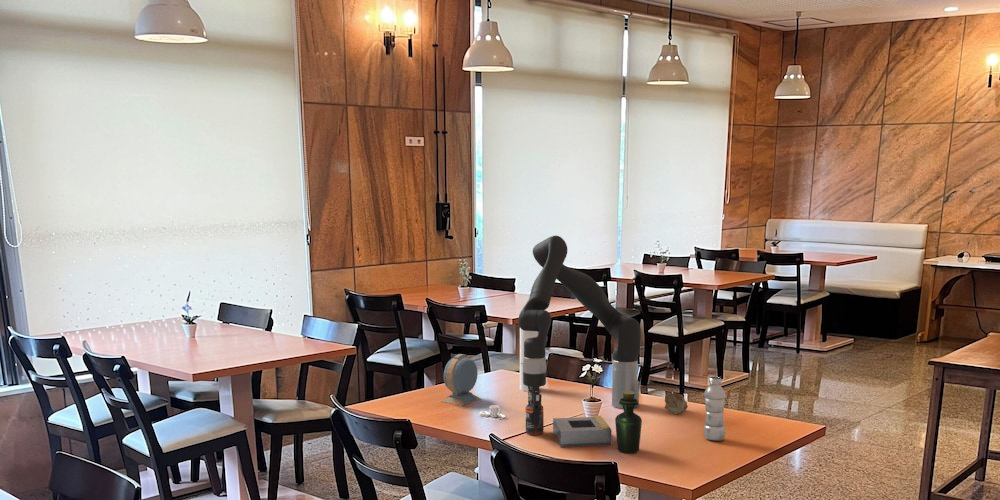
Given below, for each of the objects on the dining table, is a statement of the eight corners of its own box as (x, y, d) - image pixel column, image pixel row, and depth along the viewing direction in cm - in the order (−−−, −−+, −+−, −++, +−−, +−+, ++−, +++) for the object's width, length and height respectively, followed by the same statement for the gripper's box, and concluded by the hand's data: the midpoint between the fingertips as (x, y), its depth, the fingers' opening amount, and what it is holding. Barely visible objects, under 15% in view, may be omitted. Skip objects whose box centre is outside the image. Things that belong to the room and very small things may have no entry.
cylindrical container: (537, 391, 306) (537, 329, 304) (519, 391, 306) (519, 329, 304) (537, 386, 313) (537, 326, 311) (519, 386, 313) (519, 326, 311)
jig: (600, 431, 253) (601, 415, 253) (611, 445, 239) (611, 427, 239) (553, 433, 252) (553, 416, 251) (560, 447, 238) (560, 429, 237)
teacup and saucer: (476, 417, 271) (476, 406, 271) (491, 412, 277) (491, 401, 277) (494, 422, 265) (494, 410, 265) (509, 417, 271) (509, 406, 271)
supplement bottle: (545, 431, 254) (545, 397, 253) (540, 436, 248) (540, 402, 248) (528, 429, 256) (528, 396, 255) (523, 434, 250) (523, 400, 249)
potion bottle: (624, 456, 230) (624, 397, 228) (609, 448, 237) (610, 390, 236) (647, 452, 233) (647, 394, 232) (632, 444, 240) (632, 388, 239)
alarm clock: (462, 394, 301) (462, 349, 300) (482, 398, 296) (482, 352, 294) (438, 402, 290) (438, 356, 288) (459, 406, 284) (458, 359, 283)
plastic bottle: (721, 444, 240) (723, 381, 239) (700, 440, 244) (701, 378, 243) (727, 438, 246) (728, 377, 244) (706, 435, 249) (707, 374, 248)
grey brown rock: (660, 415, 275) (681, 417, 270) (658, 395, 275) (679, 397, 270) (671, 408, 282) (691, 409, 278) (669, 389, 282) (690, 390, 277)
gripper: (549, 375, 244) (549, 427, 245) (542, 365, 258) (542, 414, 259) (526, 375, 243) (526, 427, 244) (520, 365, 257) (520, 414, 259)
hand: (534, 420), depth 252 cm, fingers closed on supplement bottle, 6 cm apart
